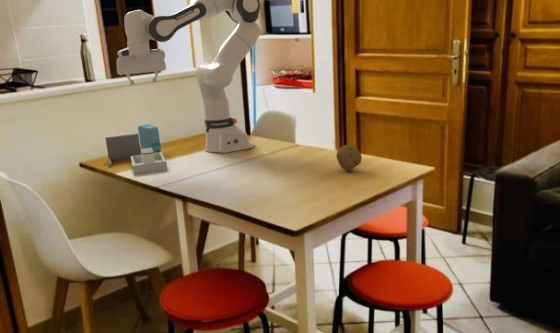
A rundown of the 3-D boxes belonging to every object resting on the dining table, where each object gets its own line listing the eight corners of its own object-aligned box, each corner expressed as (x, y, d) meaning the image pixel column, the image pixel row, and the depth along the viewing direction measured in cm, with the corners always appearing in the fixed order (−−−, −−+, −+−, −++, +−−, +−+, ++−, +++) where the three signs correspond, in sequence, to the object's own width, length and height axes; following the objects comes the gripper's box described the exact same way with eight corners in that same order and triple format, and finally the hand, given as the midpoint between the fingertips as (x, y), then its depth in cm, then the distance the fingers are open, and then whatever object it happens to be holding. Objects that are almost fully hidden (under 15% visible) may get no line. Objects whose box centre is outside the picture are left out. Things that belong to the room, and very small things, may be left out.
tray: (162, 160, 225) (161, 152, 224) (167, 169, 209) (166, 161, 208) (131, 164, 221) (130, 156, 220) (134, 174, 205) (132, 165, 204)
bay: (141, 155, 235) (137, 132, 232) (143, 162, 223) (140, 138, 220) (108, 159, 231) (105, 136, 228) (109, 167, 219) (105, 142, 216)
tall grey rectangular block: (153, 161, 220) (151, 147, 218) (155, 166, 211) (153, 152, 210) (142, 162, 218) (140, 148, 217) (144, 167, 210) (142, 153, 208)
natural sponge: (353, 166, 197) (352, 140, 195) (366, 171, 189) (366, 144, 187) (332, 170, 194) (331, 144, 191) (345, 175, 186) (344, 148, 183)
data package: (161, 152, 239) (158, 126, 236) (152, 154, 236) (149, 128, 233) (149, 148, 248) (146, 123, 245) (141, 150, 245) (137, 125, 242)
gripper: (163, 48, 224) (167, 80, 228) (113, 52, 218) (119, 85, 222) (165, 48, 218) (169, 81, 222) (114, 52, 212) (119, 86, 216)
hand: (143, 83), depth 222 cm, fingers open, 8 cm apart
